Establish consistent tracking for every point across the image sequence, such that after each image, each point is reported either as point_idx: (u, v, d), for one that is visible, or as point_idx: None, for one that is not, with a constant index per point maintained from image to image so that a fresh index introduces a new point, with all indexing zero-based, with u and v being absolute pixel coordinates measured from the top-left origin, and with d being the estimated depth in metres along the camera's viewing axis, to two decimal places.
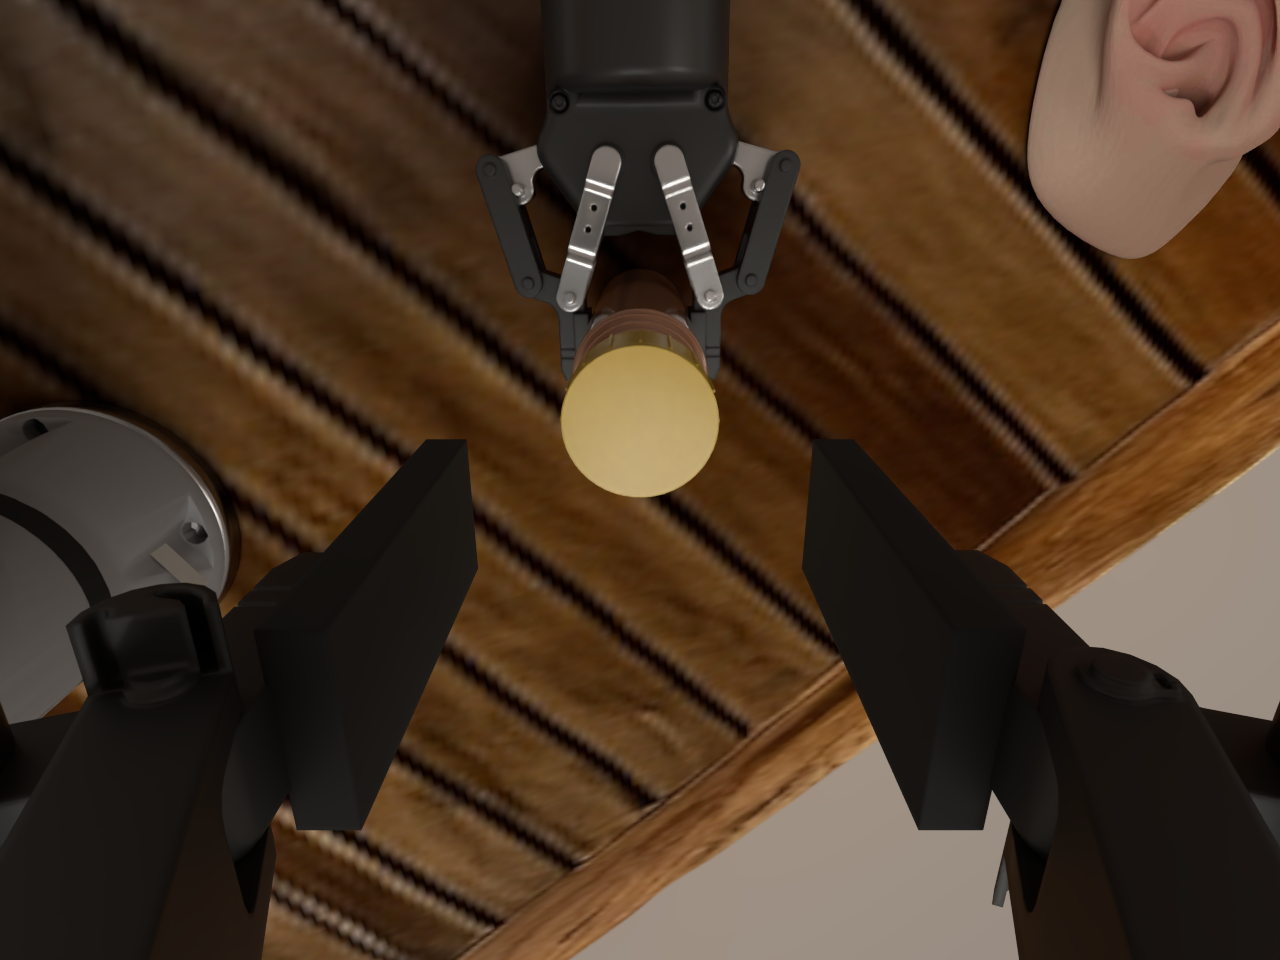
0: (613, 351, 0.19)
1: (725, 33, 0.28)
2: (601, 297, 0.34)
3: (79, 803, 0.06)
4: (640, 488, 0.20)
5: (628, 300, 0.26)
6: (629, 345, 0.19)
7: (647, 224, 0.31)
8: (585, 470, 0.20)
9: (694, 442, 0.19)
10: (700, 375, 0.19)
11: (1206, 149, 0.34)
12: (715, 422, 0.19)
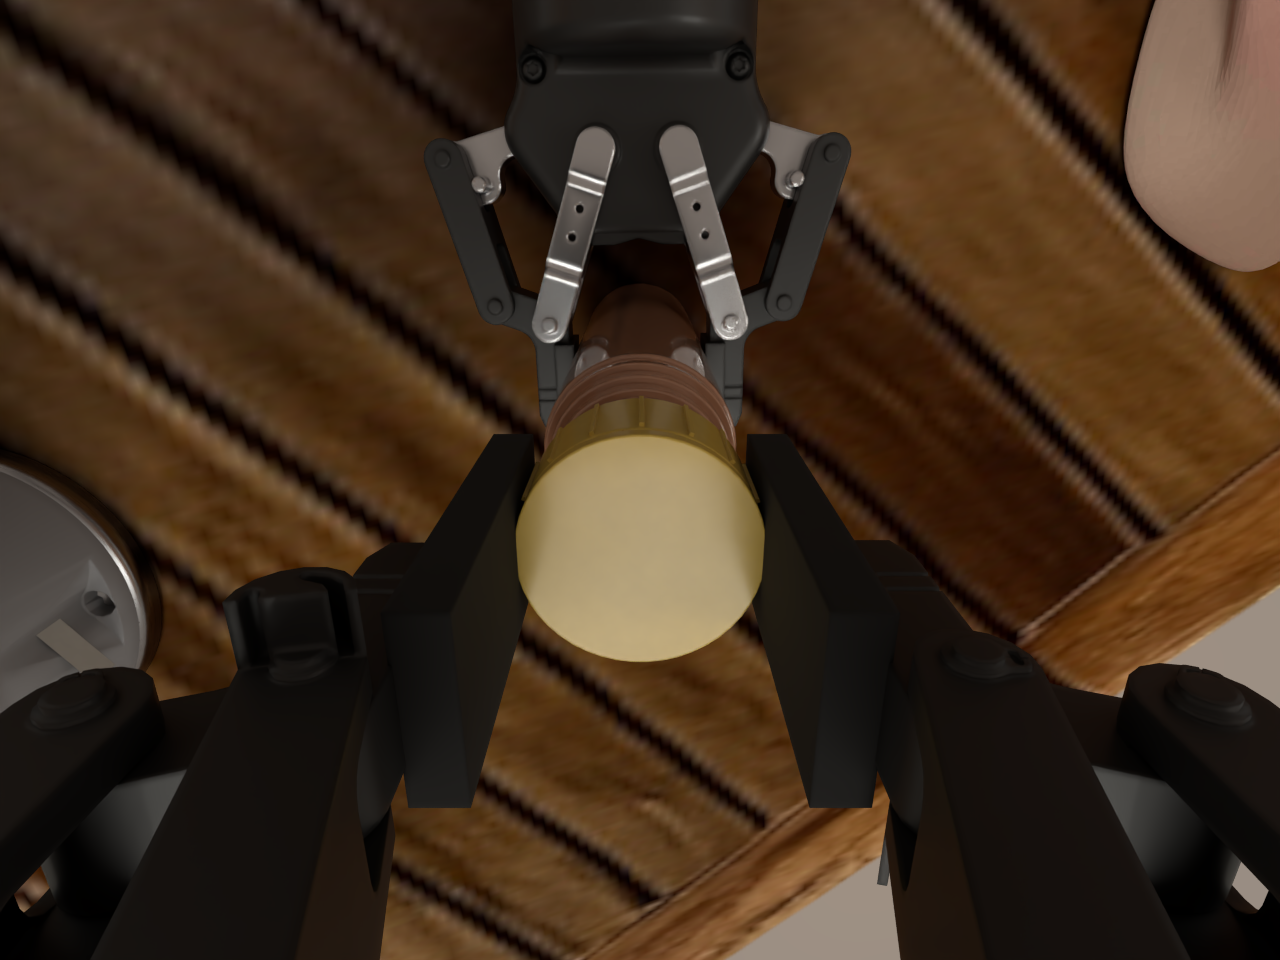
0: (597, 444, 0.11)
1: None
2: (591, 322, 0.26)
3: (232, 772, 0.06)
4: (641, 649, 0.13)
5: (624, 337, 0.19)
6: (623, 434, 0.11)
7: (649, 230, 0.24)
8: (554, 623, 0.13)
9: (727, 582, 0.12)
10: (738, 481, 0.12)
11: None
12: (761, 552, 0.12)
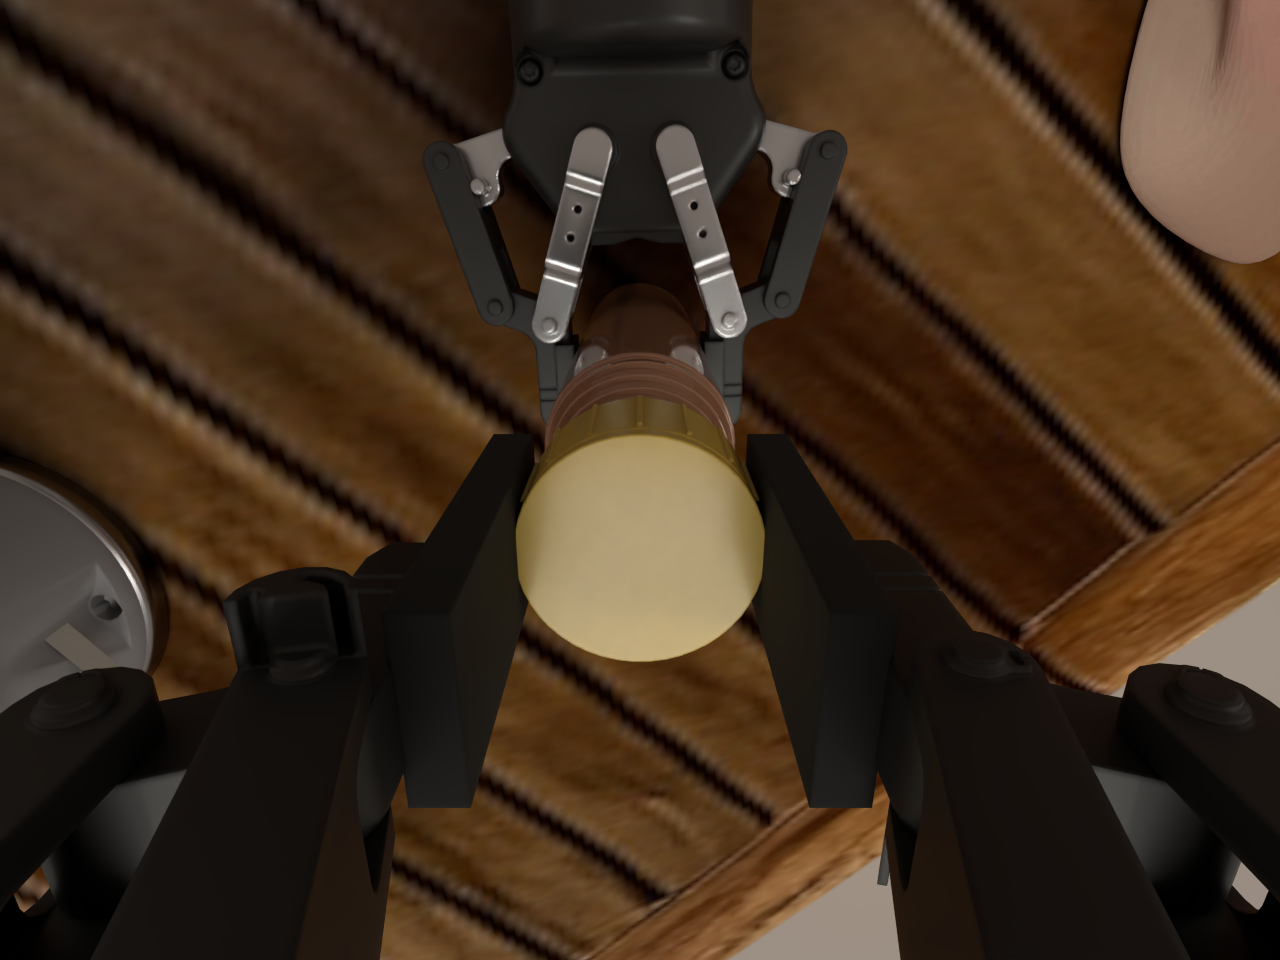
0: (590, 650, 0.13)
1: None
2: (590, 322, 0.27)
3: (232, 773, 0.06)
4: (719, 481, 0.12)
5: (622, 336, 0.19)
6: (568, 638, 0.13)
7: (647, 229, 0.24)
8: (758, 561, 0.12)
9: (596, 477, 0.12)
10: None
11: None
12: (548, 477, 0.12)
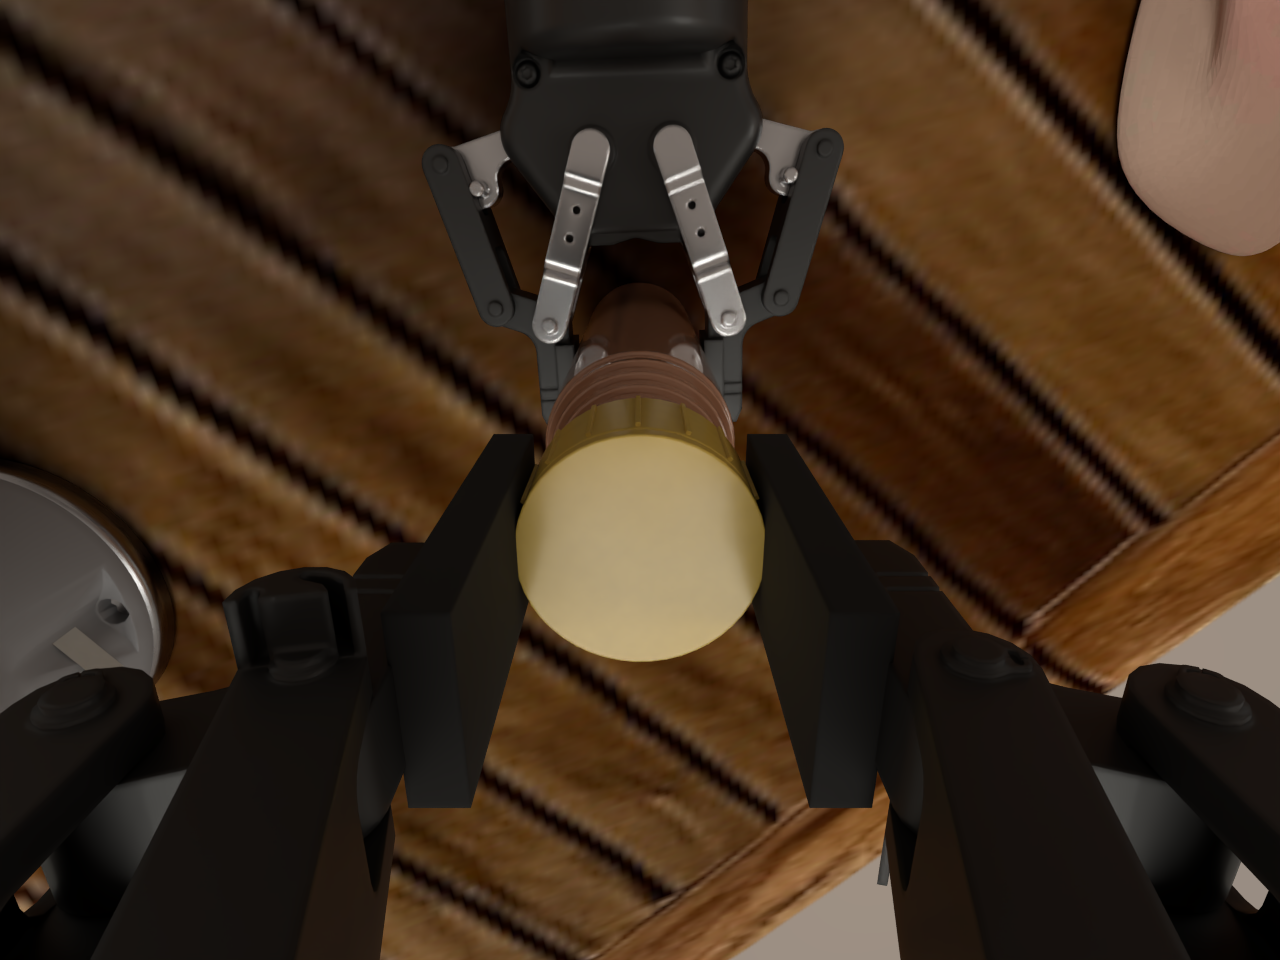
0: (758, 514, 0.12)
1: None
2: (590, 322, 0.27)
3: (233, 772, 0.06)
4: (530, 559, 0.12)
5: (622, 335, 0.19)
6: None
7: (646, 229, 0.24)
8: (556, 474, 0.12)
9: (613, 632, 0.13)
10: (719, 635, 0.13)
11: None
12: (646, 656, 0.13)
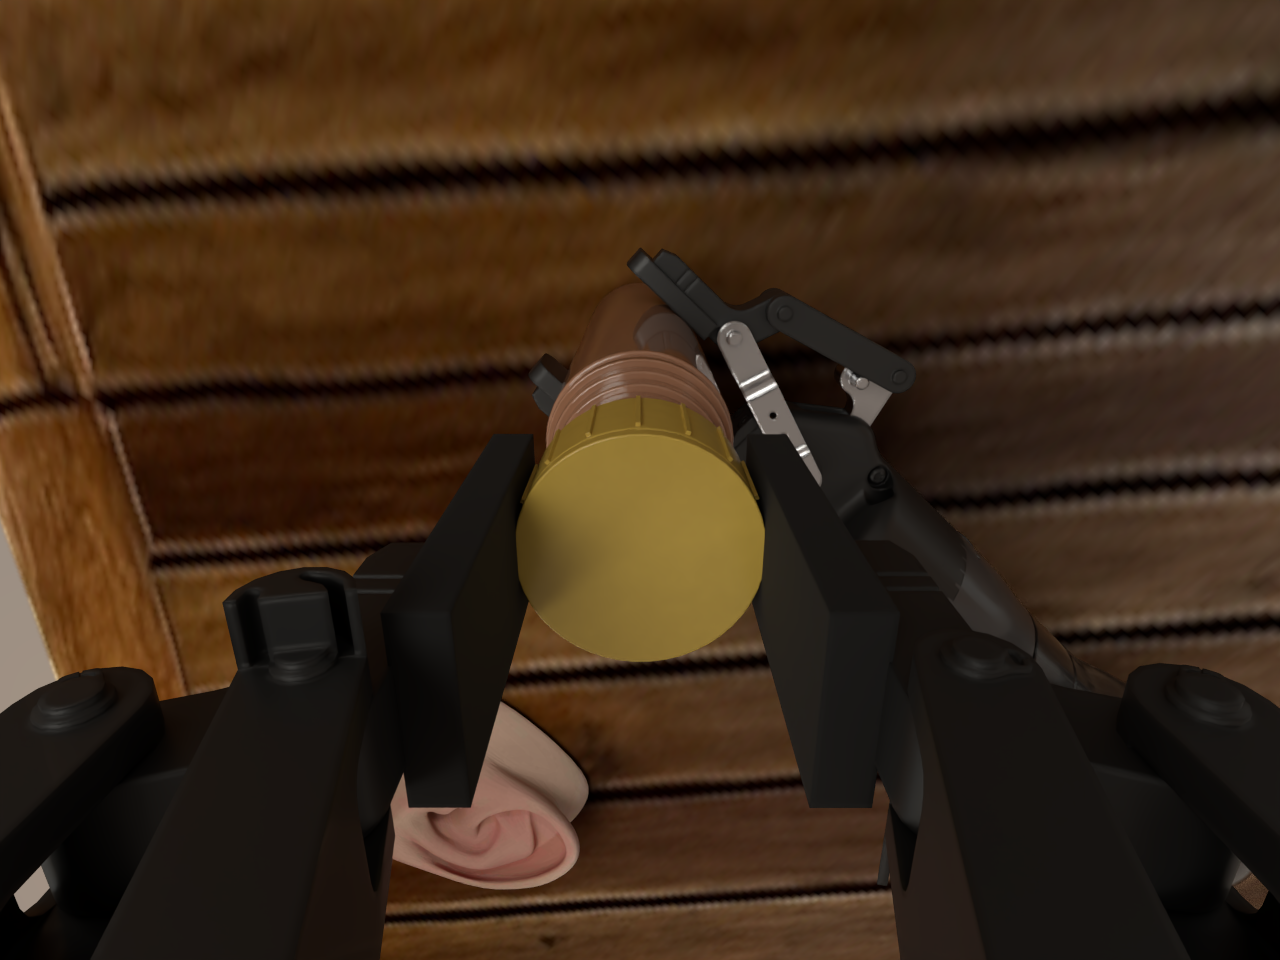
0: (758, 515, 0.12)
1: None
2: None
3: (233, 772, 0.06)
4: (530, 559, 0.12)
5: None
6: None
7: None
8: (556, 474, 0.12)
9: (613, 632, 0.13)
10: (719, 635, 0.13)
11: (400, 810, 0.38)
12: (646, 656, 0.13)
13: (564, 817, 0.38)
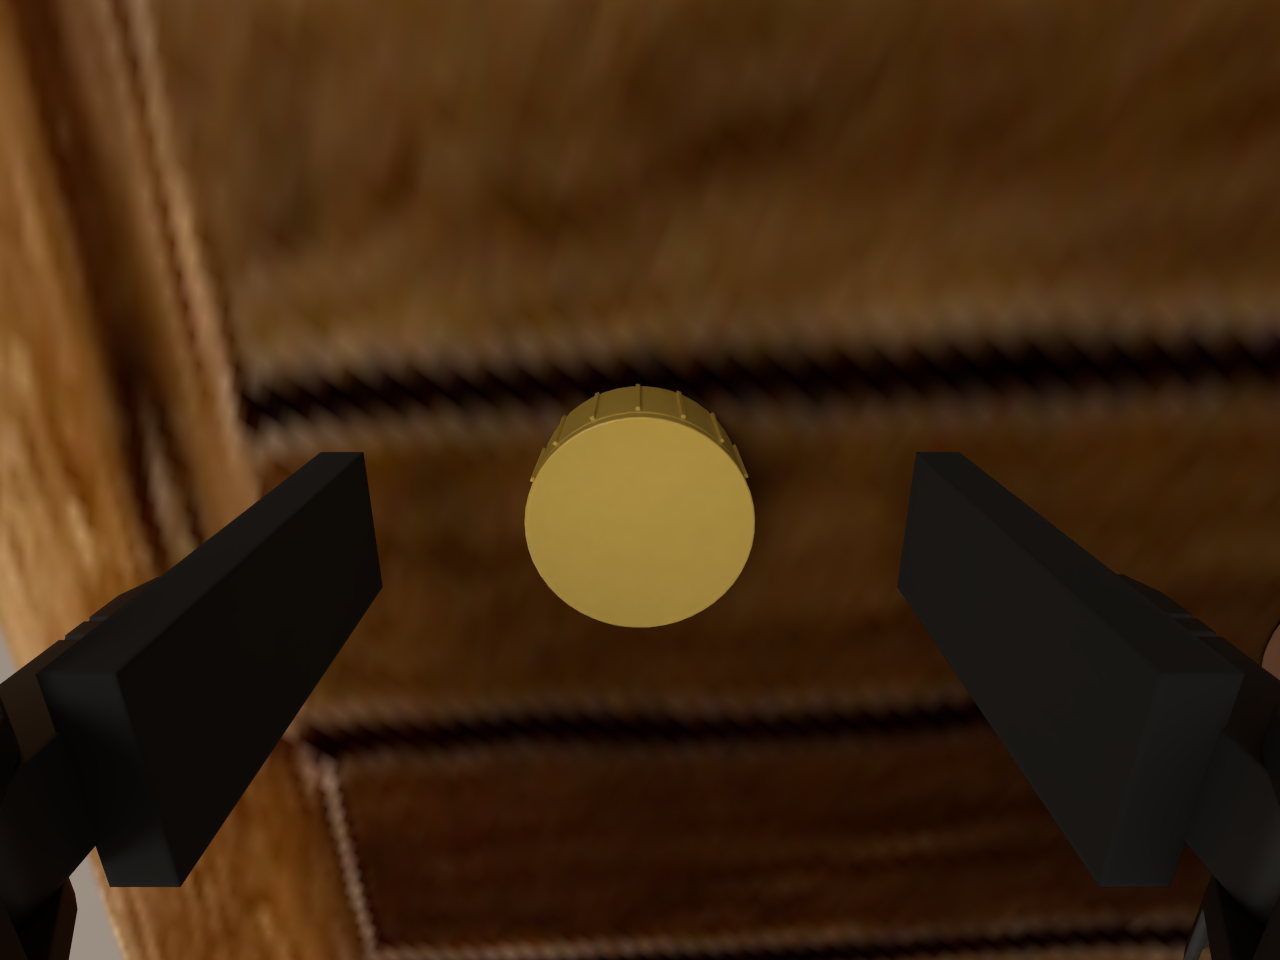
0: (747, 491, 0.13)
1: None
2: None
3: None
4: (539, 532, 0.13)
5: None
6: (753, 510, 0.13)
7: None
8: (563, 453, 0.13)
9: (615, 599, 0.14)
10: (711, 602, 0.14)
11: None
12: (645, 622, 0.14)
13: None
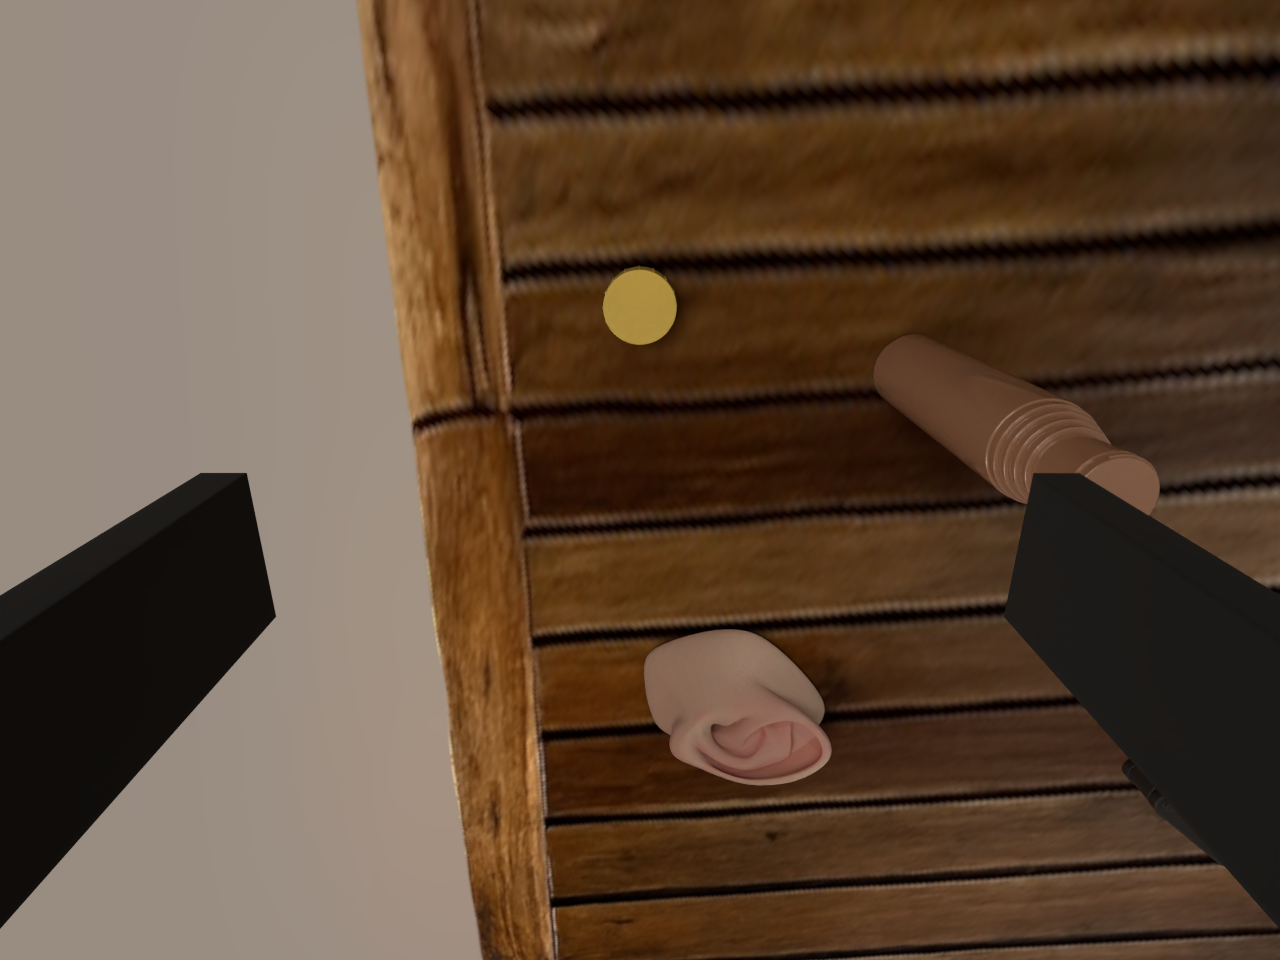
0: (673, 294, 0.41)
1: None
2: None
3: None
4: (608, 309, 0.42)
5: None
6: None
7: None
8: (616, 282, 0.41)
9: (632, 333, 0.42)
10: (663, 334, 0.42)
11: (697, 721, 0.51)
12: (641, 343, 0.42)
13: (820, 727, 0.51)
